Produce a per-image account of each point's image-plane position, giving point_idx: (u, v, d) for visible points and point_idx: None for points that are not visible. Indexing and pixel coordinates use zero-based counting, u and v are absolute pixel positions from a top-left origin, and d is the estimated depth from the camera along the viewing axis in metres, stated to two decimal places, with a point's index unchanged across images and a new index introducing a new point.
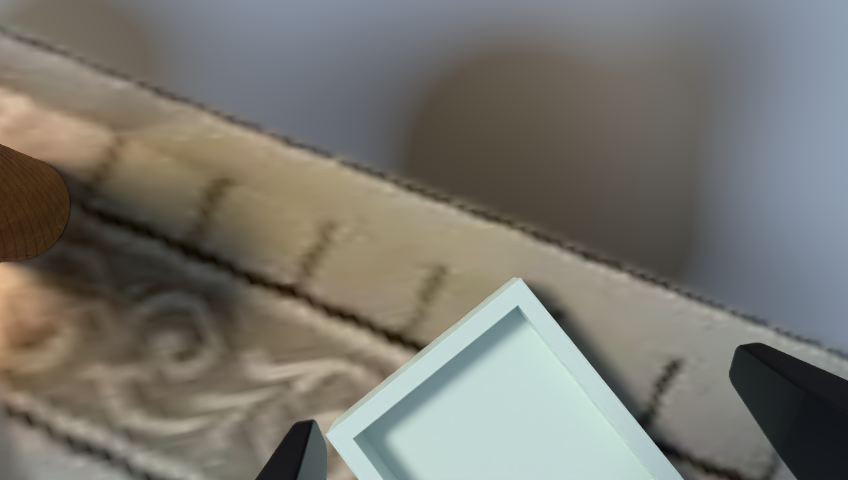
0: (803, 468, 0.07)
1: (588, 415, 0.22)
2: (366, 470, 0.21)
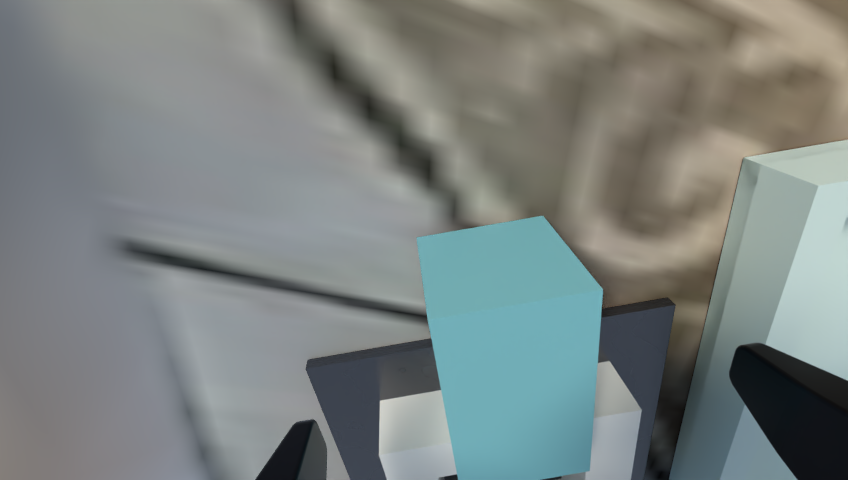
0: (803, 468, 0.07)
1: None
2: (808, 278, 0.10)
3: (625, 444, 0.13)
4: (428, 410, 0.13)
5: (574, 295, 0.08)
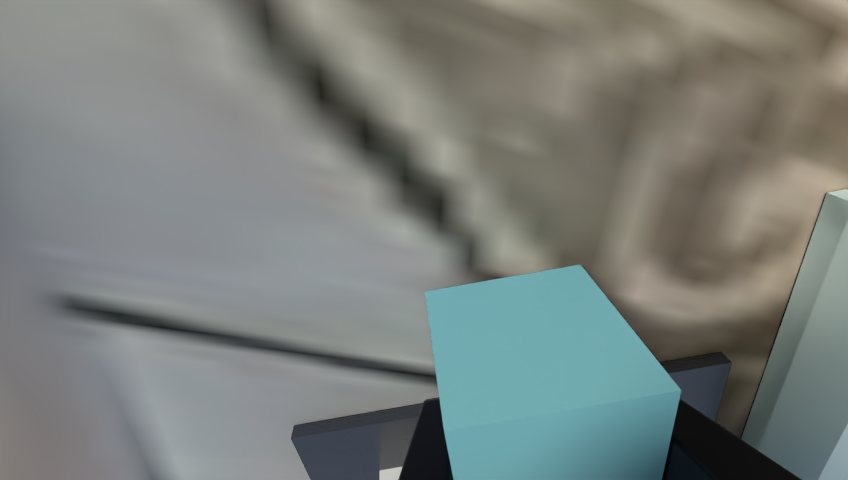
0: None
1: None
2: None
3: None
4: None
5: (642, 397, 0.06)
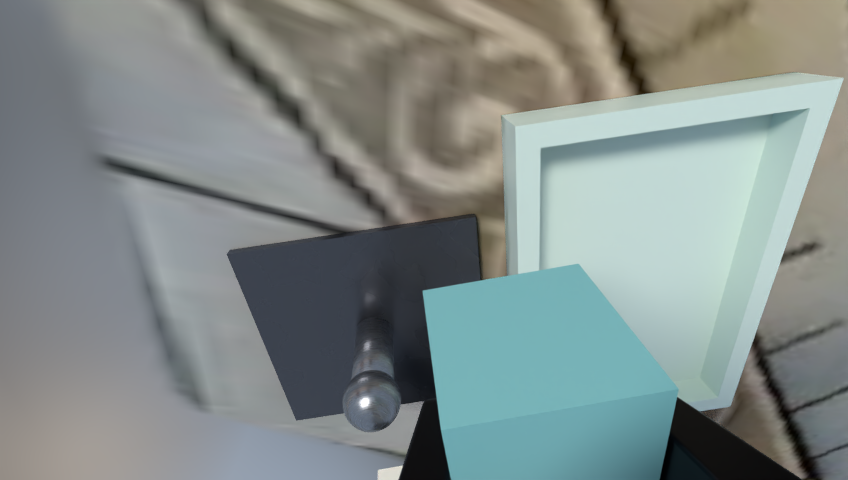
0: None
1: (724, 249, 0.21)
2: (530, 188, 0.17)
3: None
4: None
5: (639, 396, 0.06)
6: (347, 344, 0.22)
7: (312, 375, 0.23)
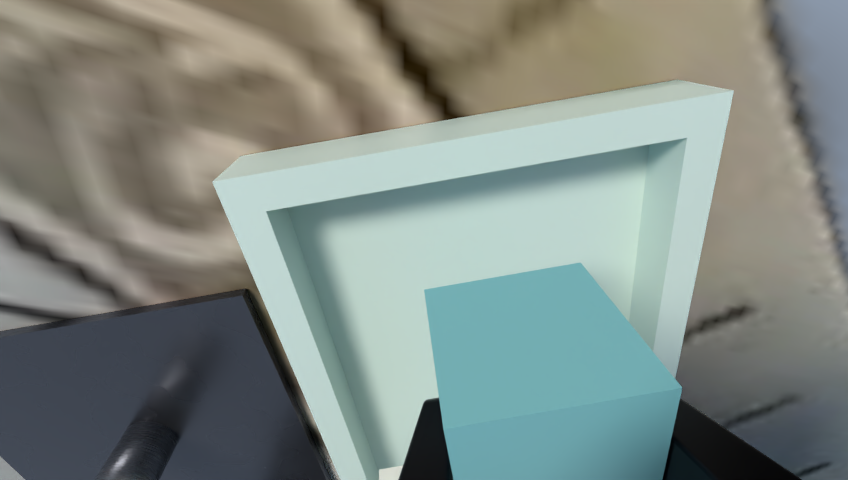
0: None
1: None
2: (271, 268, 0.11)
3: None
4: None
5: (643, 395, 0.06)
6: None
7: None
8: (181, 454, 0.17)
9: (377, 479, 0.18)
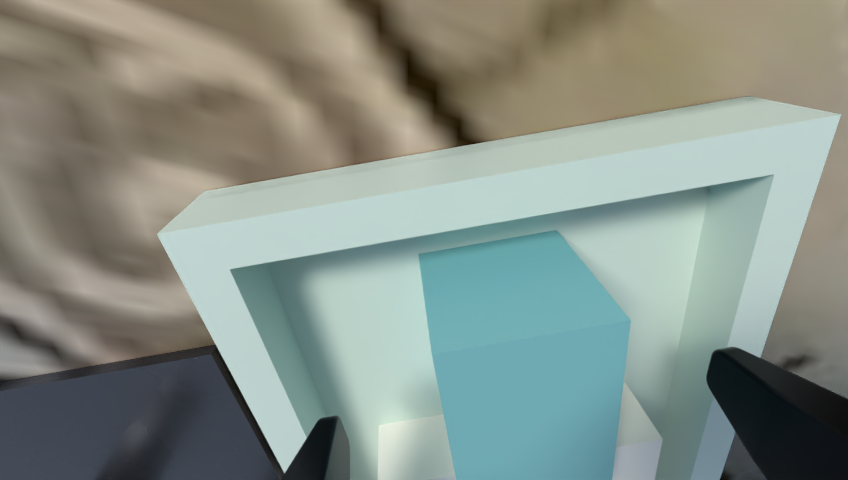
0: (775, 473, 0.07)
1: (653, 379, 0.13)
2: (240, 336, 0.09)
3: (644, 474, 0.12)
4: (431, 437, 0.12)
5: (598, 326, 0.07)
6: None
7: None
8: None
9: None
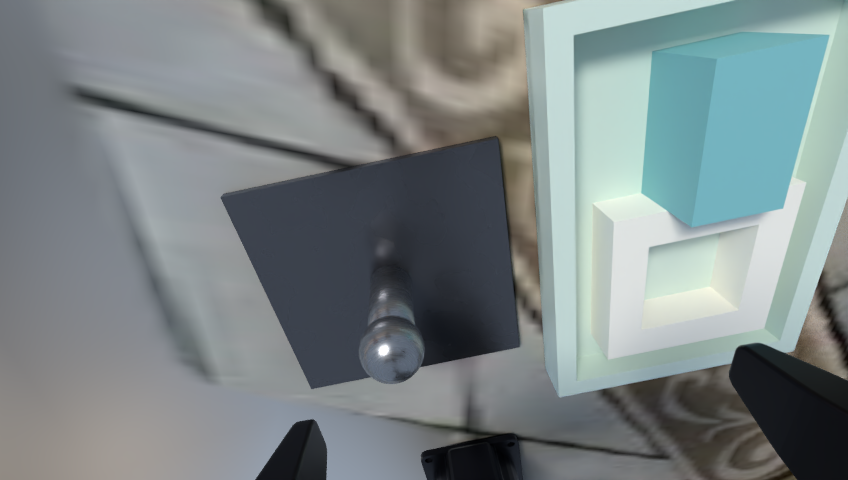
0: (803, 468, 0.07)
1: None
2: (562, 89, 0.14)
3: (788, 217, 0.17)
4: (636, 202, 0.18)
5: (811, 39, 0.13)
6: (361, 299, 0.20)
7: (325, 336, 0.21)
8: None
9: None
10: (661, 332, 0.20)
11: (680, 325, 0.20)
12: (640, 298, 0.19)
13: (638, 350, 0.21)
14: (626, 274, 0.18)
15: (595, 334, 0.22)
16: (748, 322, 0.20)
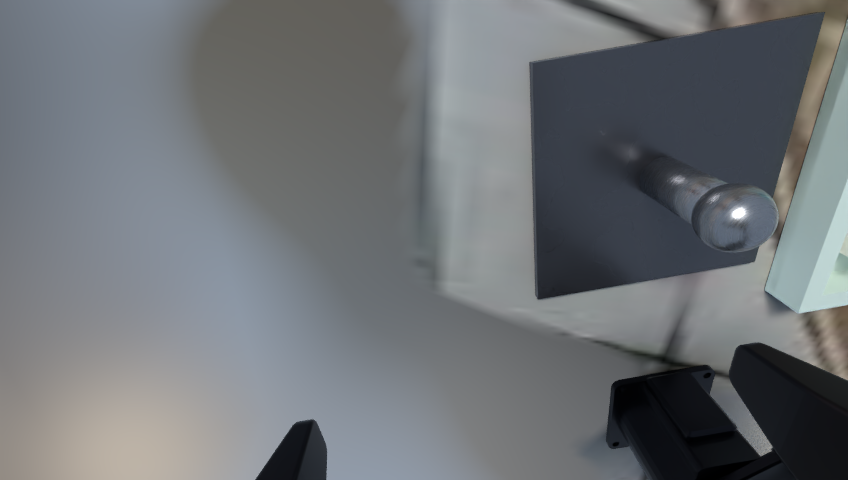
0: (803, 468, 0.07)
1: None
2: None
3: None
4: None
5: None
6: (624, 194, 0.20)
7: (574, 237, 0.20)
8: None
9: None
10: None
11: None
12: None
13: None
14: None
15: (845, 246, 0.21)
16: None
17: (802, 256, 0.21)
